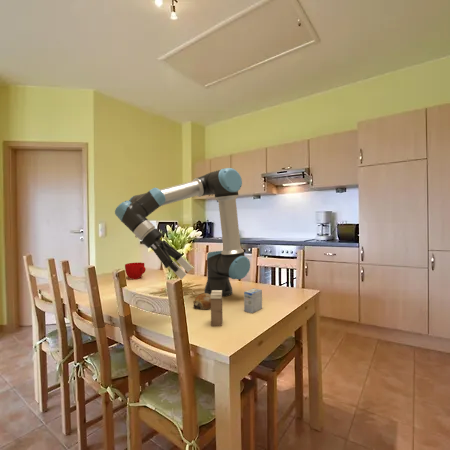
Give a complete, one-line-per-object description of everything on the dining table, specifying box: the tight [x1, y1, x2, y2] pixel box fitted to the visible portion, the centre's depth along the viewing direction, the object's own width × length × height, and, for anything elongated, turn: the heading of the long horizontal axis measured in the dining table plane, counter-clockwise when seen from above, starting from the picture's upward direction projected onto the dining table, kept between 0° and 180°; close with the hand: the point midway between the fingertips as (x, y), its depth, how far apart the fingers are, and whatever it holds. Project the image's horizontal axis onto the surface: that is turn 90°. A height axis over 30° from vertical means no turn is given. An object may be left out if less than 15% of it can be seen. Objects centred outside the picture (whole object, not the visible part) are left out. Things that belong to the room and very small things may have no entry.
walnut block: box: [210, 290, 223, 327], centre depth 105 cm, size 6×4×12 cm, turn 178°
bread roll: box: [192, 292, 211, 311], centre depth 125 cm, size 10×10×8 cm
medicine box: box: [243, 288, 263, 314], centre depth 119 cm, size 8×4×9 cm, turn 141°
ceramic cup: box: [124, 262, 147, 280], centre depth 188 cm, size 13×17×10 cm
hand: (187, 273), depth 105 cm, fingers open, 13 cm apart
